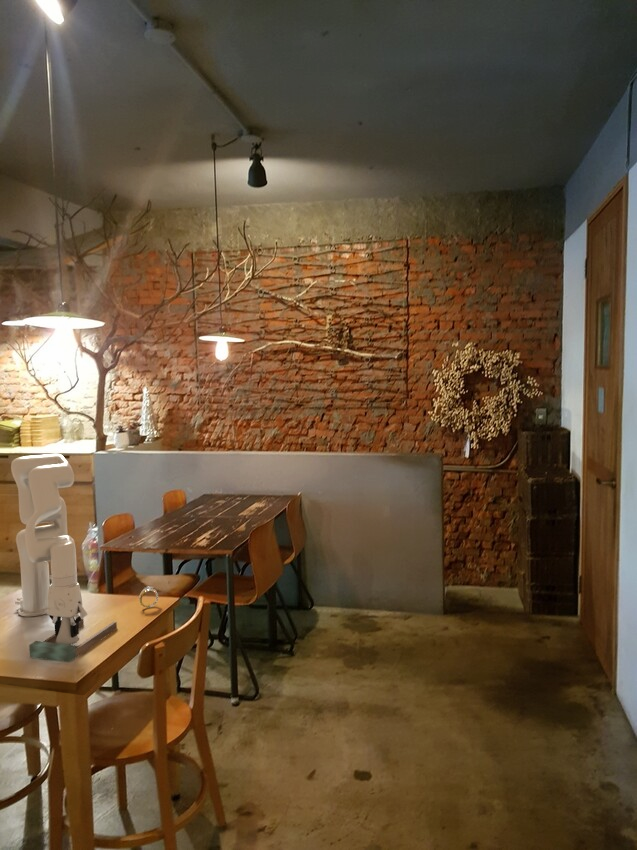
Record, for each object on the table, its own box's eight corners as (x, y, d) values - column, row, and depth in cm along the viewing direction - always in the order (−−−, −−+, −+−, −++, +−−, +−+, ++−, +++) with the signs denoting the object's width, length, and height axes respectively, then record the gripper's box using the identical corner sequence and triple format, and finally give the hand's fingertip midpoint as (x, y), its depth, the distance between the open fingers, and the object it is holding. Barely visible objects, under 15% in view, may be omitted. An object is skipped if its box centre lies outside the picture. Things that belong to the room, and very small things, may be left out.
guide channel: (29, 657, 187) (29, 645, 186) (80, 625, 211) (80, 614, 211) (69, 662, 183) (68, 649, 183) (116, 628, 207) (116, 617, 207)
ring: (157, 604, 229) (157, 584, 229) (159, 607, 226) (158, 586, 226) (139, 607, 226) (138, 587, 226) (140, 610, 223) (139, 589, 223)
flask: (79, 635, 198) (78, 606, 197) (79, 644, 191) (78, 614, 190) (55, 639, 195) (54, 609, 194) (54, 648, 189) (53, 617, 188)
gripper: (33, 582, 190) (36, 637, 192) (80, 586, 186) (82, 642, 187) (49, 574, 197) (52, 627, 199) (94, 578, 193) (97, 632, 195)
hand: (67, 634), depth 193 cm, fingers closed on flask, 5 cm apart
